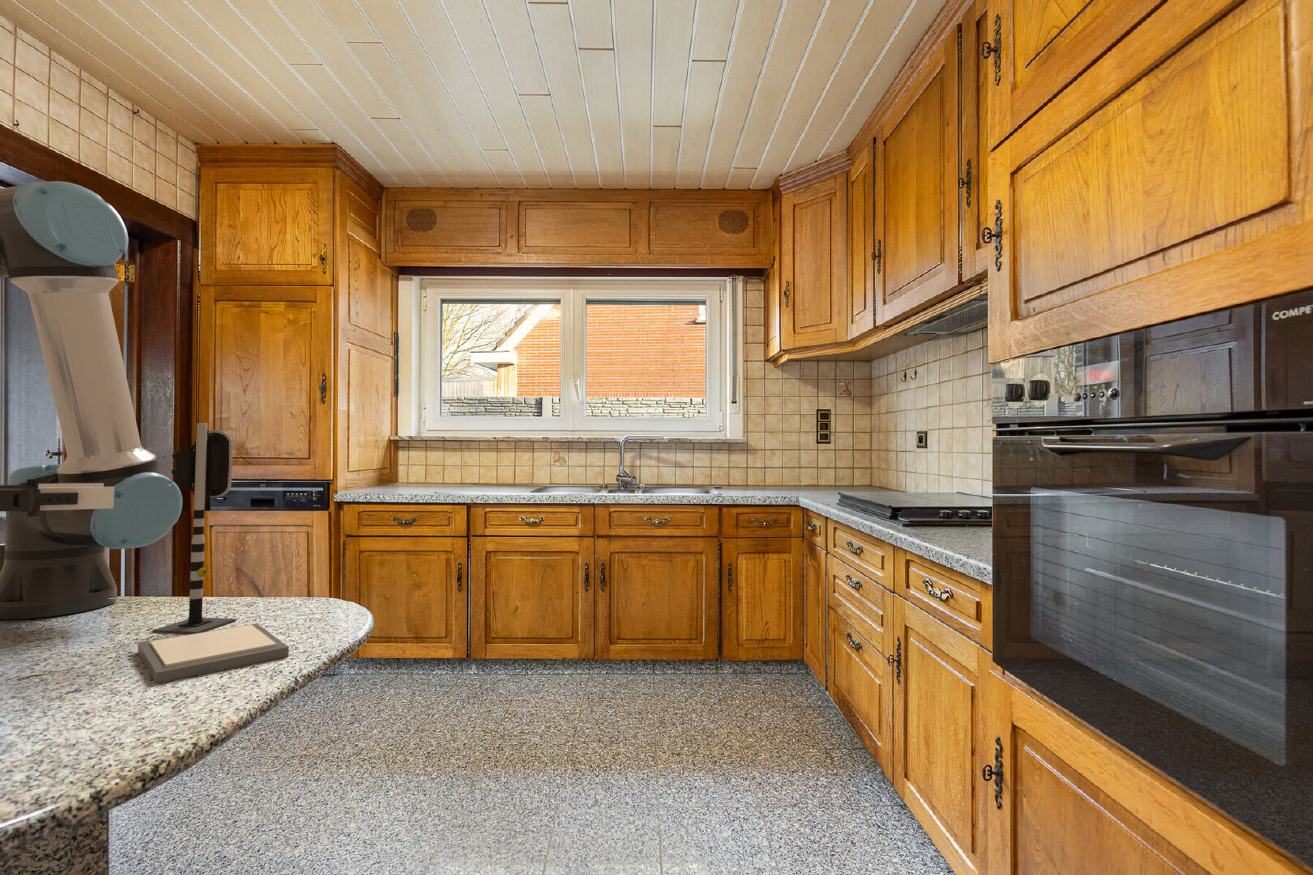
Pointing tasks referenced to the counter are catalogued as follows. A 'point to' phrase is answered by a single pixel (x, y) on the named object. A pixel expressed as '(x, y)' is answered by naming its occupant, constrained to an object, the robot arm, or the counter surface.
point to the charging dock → (209, 652)
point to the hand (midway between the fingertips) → (108, 495)
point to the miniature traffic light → (202, 514)
